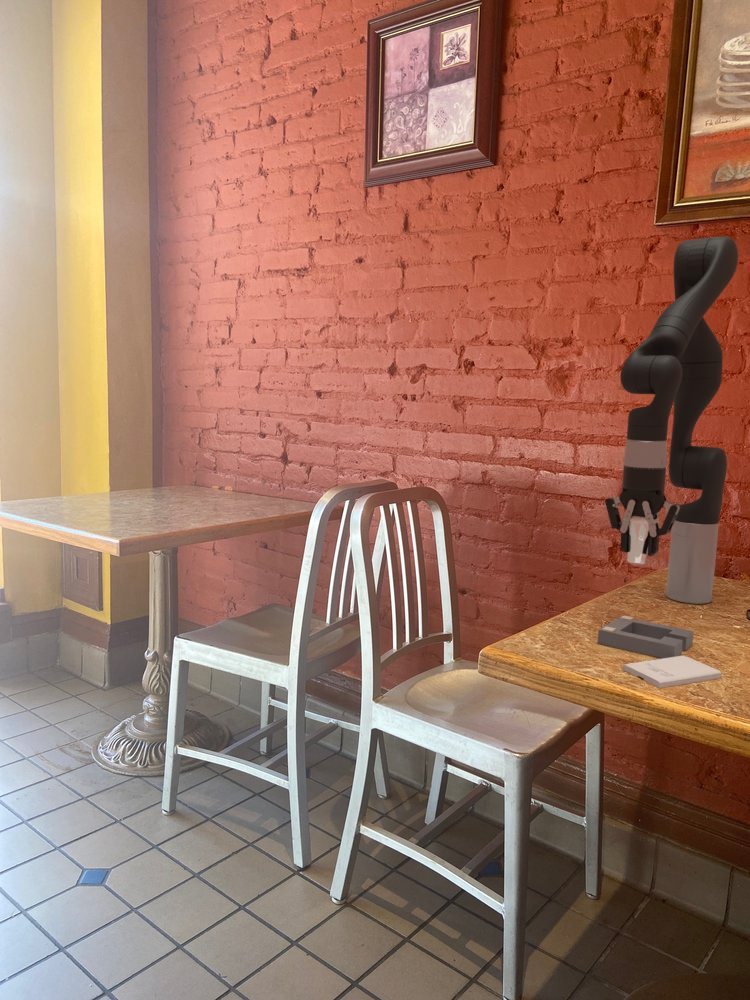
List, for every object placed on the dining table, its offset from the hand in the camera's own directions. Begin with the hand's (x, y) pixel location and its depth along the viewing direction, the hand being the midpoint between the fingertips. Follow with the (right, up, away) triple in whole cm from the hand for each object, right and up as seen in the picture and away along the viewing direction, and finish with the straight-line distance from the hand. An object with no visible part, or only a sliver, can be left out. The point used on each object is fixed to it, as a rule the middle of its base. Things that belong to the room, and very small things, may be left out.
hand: (638, 553), depth 143 cm
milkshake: (0, -2, 0) cm, 2 cm away
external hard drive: (-4, -18, -24) cm, 31 cm away
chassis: (-3, -15, -11) cm, 19 cm away
